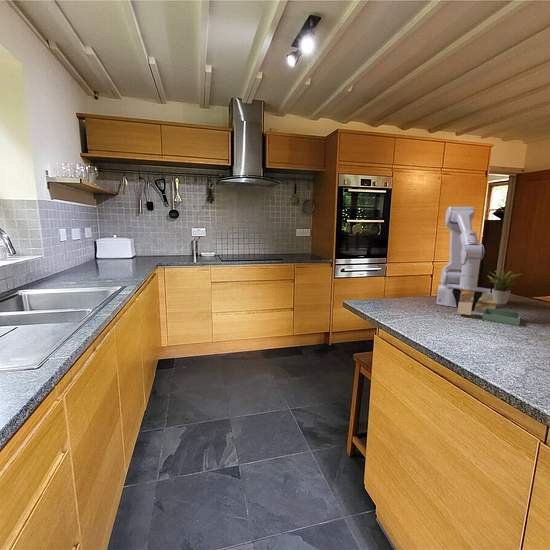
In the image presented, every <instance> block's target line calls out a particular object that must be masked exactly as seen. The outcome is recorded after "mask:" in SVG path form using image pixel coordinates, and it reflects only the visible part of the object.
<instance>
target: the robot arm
mask: <svg viewBox="0 0 550 550" xmlns="http://www.w3.org/2000/svg"><path fill="white" fill-rule="evenodd" d="M474 218H475V207H473V206H448V208H447V209H446V212H445V226H446V227H447V228H448V229H449V246H448V247H449V251H448V252H449V255H448V264H447V265H445V266H443V267H442V269H441V274H440V282H441V283H440V284H438V289H437V296H436V305H439V306H446V307H453V308H456V309H458V303H459V301H460V300H462V296H463V292H469V293H473V297H474V298H473V305H472V312H475V311H474V309H475V306H476V303H477V302H478V300H479V299H480V298H482V296H483V295H484V294H485V295H490V294H491V292H492V289H491V288H487V287H480V286H478V281H479V273H480V272H479V271H480V263H481V260H483V258H484V257H485V256H484V255H485V247H484V245H483V244H482V243H480V242H479V237H478V235H477V232H476V231H475V230H473V227H472V221H473V220H474Z"/></svg>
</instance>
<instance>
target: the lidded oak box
mask: <svg viewBox="0 0 550 550" xmlns="http://www.w3.org/2000/svg"><path fill="white" fill-rule="evenodd" d="M473 298H474V296H472V297H470V300H469V301H472V302H473ZM497 301H498V300H493V298H492V299H491V298H483V297H480V299H479V300H478V302H477V303H476V306H475V309H474V311H473V312H475V311H476V313H481V312H482V314H483V313H484V310H485V308H491V309H496V308H497V305H498V304H497Z"/></svg>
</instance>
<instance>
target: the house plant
mask: <svg viewBox="0 0 550 550" xmlns="http://www.w3.org/2000/svg"><path fill="white" fill-rule="evenodd" d="M494 272H495V273H496V274H497V275H496V274H495V273H492V272H491V271H489V273H490V274H491V275H492V276H493V277H494V278H493V277H492V276H491V275H487V277H488V278H489V280H488V281H487V282H488V283H489V282H490V283H493V284H492V285H491V286H495V288H492V289H491V294H492V295H491V297H492V300H498V301H497V304H496V305H506V304H507V303H508V301H509V297H510V295H511V291H512V290H510V289H508V288H510V287H514V285H518V286H519V284H518V283H514V282H513V283H510V282H511V281H512V280H513V279H515V278H516V277H518V276H520V275H521V273H519V274H515V275H514V274H511V273H512V271H511V270H510V271H508V272H507V273H506V274H505V270H504V269H502V274H501V272H499V271H497V270H494Z"/></svg>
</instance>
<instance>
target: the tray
mask: <svg viewBox="0 0 550 550" xmlns="http://www.w3.org/2000/svg"><path fill="white" fill-rule="evenodd" d="M481 320H482V321H486V320H487V321H488V322H493V323H498V324H504V325H511V326H515V325H516V327H520V322H521V312H516V311H510V310H504V309H491V308H485V310H484V313H482V319H481Z"/></svg>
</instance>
